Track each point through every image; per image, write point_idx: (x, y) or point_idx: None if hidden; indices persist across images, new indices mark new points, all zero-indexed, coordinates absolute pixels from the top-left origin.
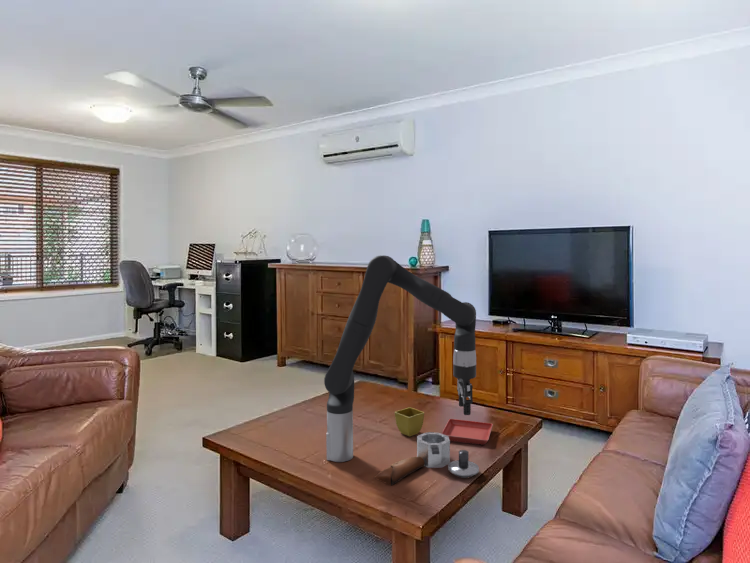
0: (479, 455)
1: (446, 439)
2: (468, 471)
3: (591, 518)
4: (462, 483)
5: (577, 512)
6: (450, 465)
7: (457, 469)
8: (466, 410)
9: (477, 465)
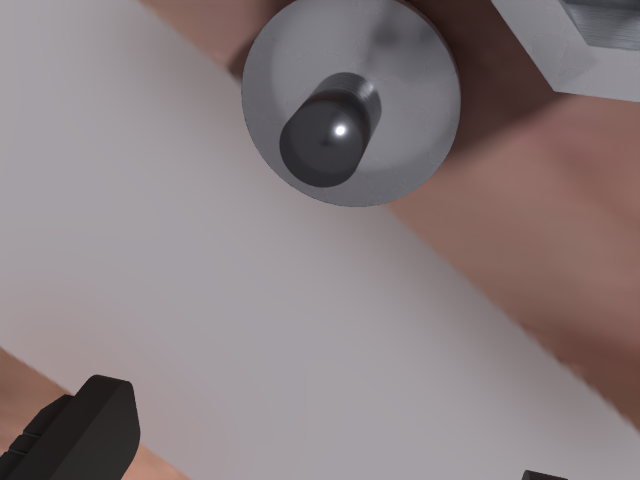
0: (619, 283)
1: (609, 65)
2: (270, 118)
3: (6, 413)
4: (225, 45)
5: (33, 399)
6: (375, 12)
7: (303, 50)
8: (21, 448)
9: (356, 204)
